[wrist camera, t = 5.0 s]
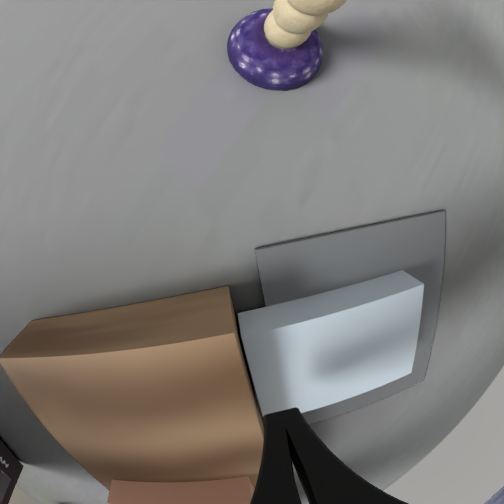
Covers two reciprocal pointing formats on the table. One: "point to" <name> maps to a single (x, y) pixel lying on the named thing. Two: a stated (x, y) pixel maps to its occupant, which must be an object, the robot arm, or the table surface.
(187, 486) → the salmon pink flat block
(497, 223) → the table surface
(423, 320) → the charcoal mat
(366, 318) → the pale blue block
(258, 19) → the toy lamp
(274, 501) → the robot arm
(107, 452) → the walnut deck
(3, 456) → the headset box
